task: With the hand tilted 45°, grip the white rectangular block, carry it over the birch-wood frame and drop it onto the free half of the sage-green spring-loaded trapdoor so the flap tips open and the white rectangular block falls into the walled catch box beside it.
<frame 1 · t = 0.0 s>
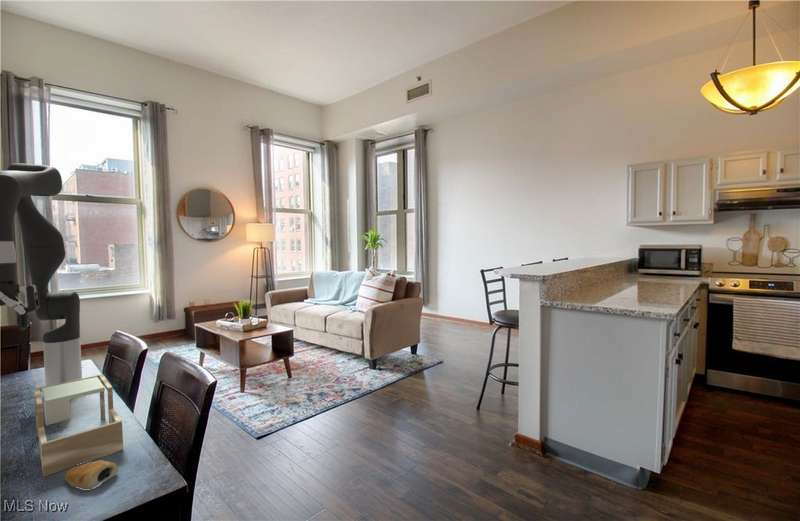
trapdoor frame: (75, 435, 95), on the table
trapdoor: (73, 389, 95), point 12 cm above the table, hinge at -0.2°
pastry: (91, 482, 77), on the table
white rectangular block: (57, 419, 104), on the table
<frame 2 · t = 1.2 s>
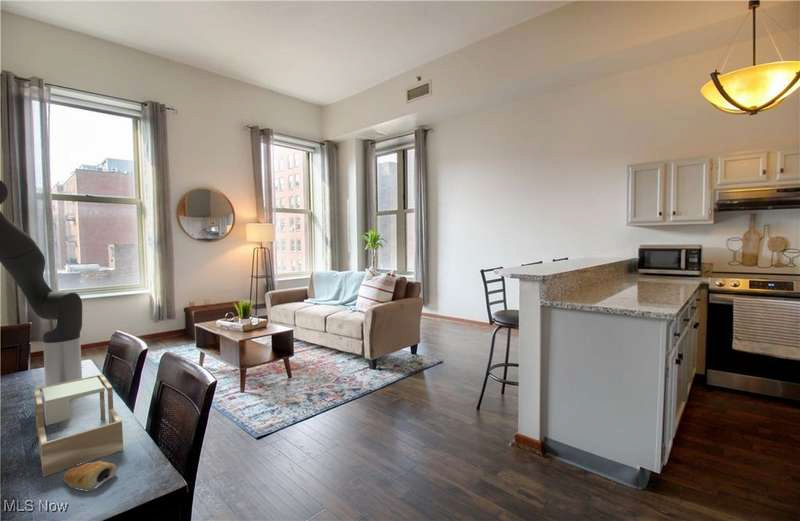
nothing on the table moved.
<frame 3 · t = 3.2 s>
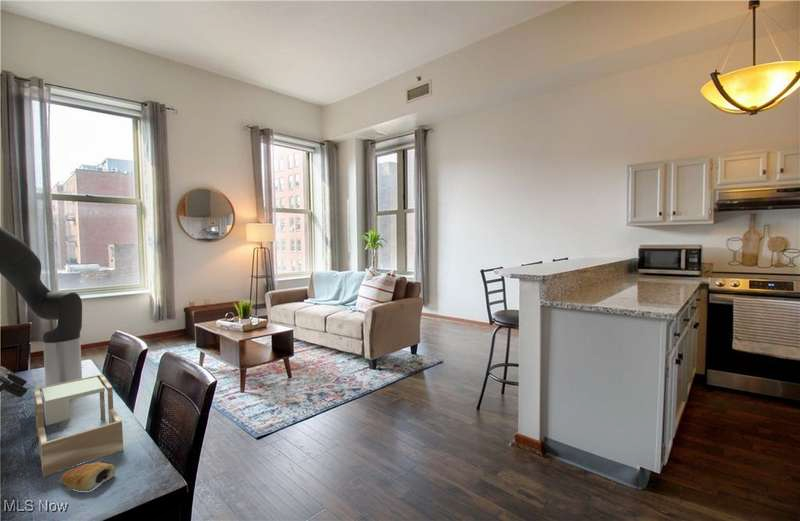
hand: (24, 389, 99), 11 cm above the table, tool tilted 45°, fingers open, 8 cm apart
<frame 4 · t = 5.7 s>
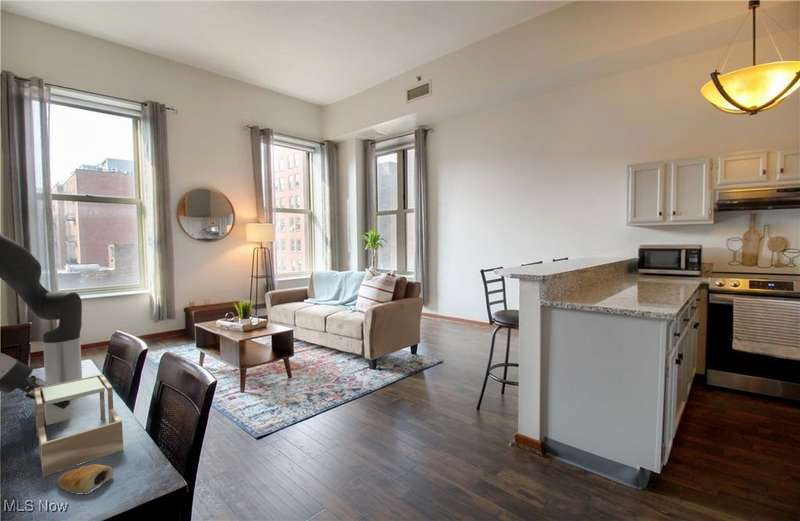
hand: (65, 402, 105), 4 cm above the table, tool tilted 45°, fingers closed on white rectangular block, 5 cm apart
white rectangular block: (57, 419, 104), on the table, touching gripper
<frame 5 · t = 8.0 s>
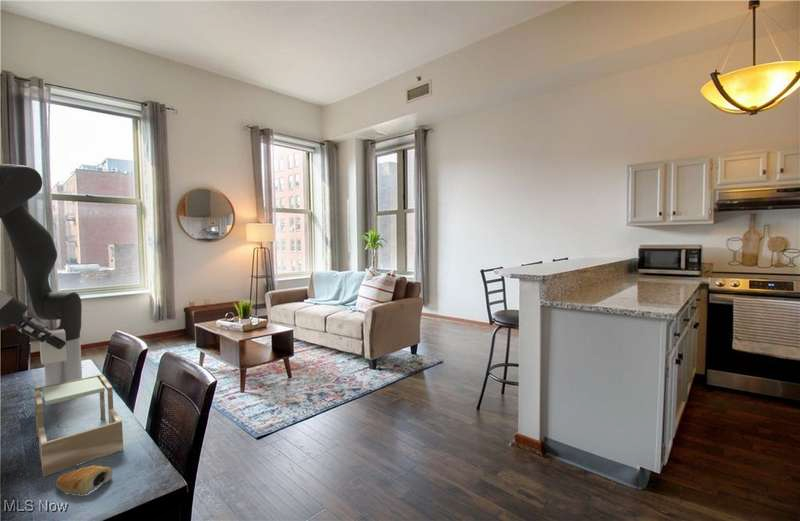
hand: (61, 344, 104), 21 cm above the table, tool tilted 45°, fingers closed on white rectangular block, 5 cm apart
white rectangular block: (53, 360, 103), point 17 cm above the table, touching gripper
when the fingers open (22 cm above the table, at t = 10.5 s): white rectangular block drops 10 cm and tips over, point 8 cm above the table.
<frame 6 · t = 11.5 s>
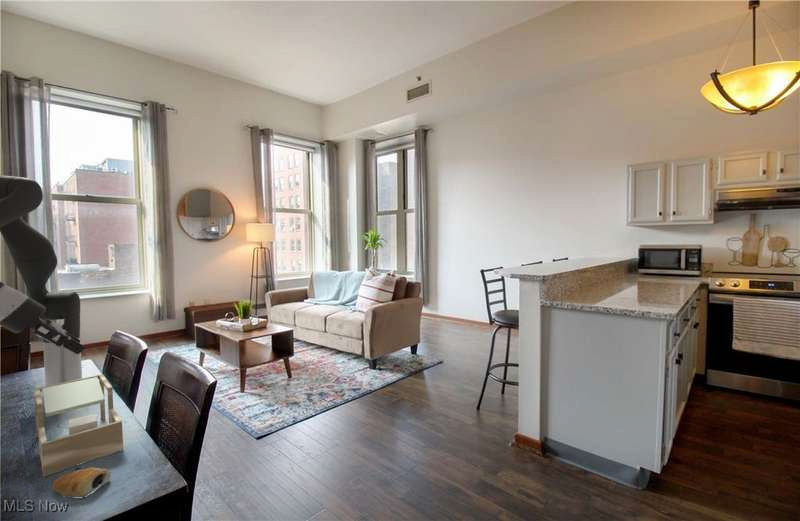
hand: (79, 347, 93), 23 cm above the table, tool tilted 45°, fingers open, 8 cm apart
trapdoor: (73, 395, 95), point 10 cm above the table, hinge at -16.4°
white rectangular block: (83, 420, 87), point 8 cm above the table, tilted 180°
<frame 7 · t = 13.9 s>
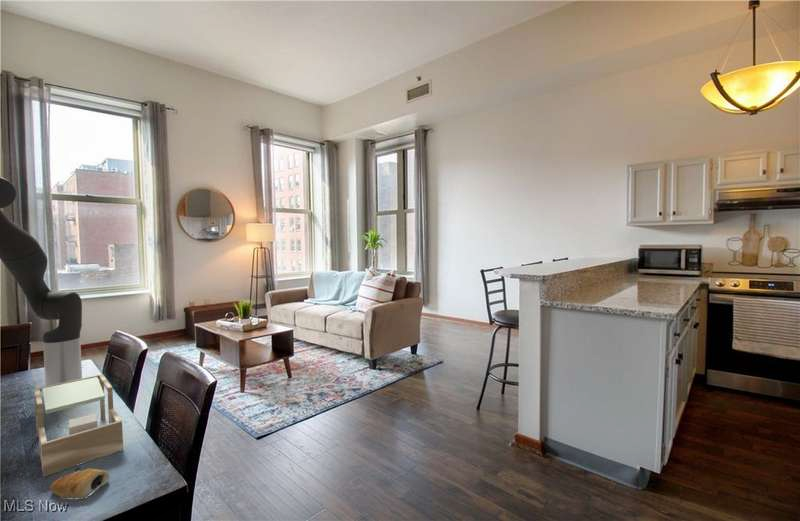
trapdoor: (73, 393, 95), point 11 cm above the table, hinge at -11.9°
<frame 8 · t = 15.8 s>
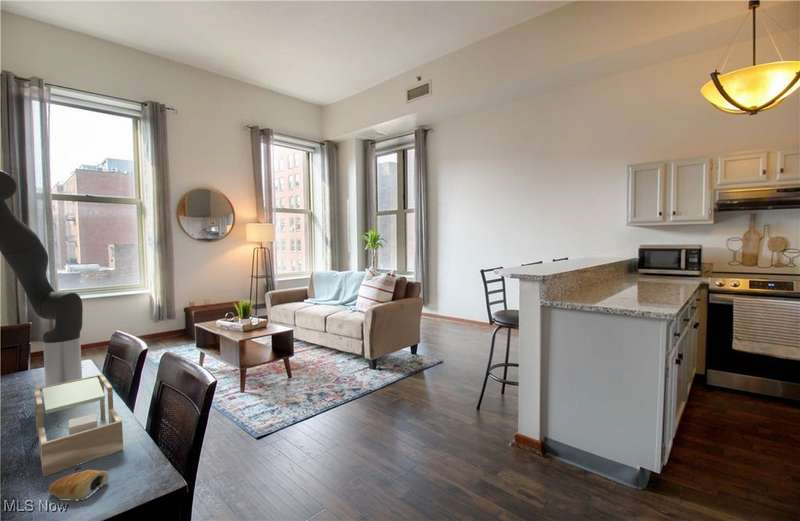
at the end: white rectangular block point 7.9 cm above the table; the gripper is holding nothing; white rectangular block 12.4 cm from the trapdoor frame (horizontally) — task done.
